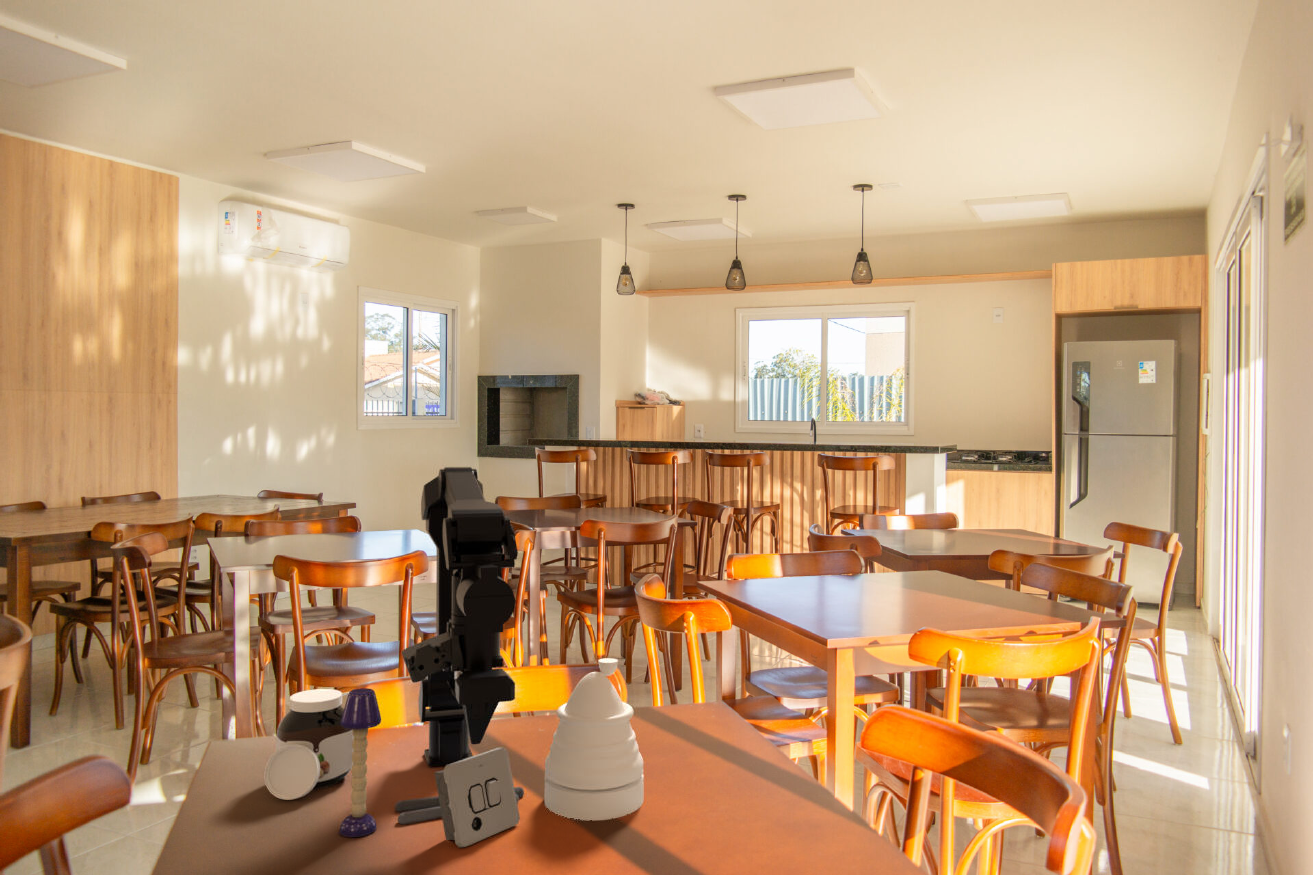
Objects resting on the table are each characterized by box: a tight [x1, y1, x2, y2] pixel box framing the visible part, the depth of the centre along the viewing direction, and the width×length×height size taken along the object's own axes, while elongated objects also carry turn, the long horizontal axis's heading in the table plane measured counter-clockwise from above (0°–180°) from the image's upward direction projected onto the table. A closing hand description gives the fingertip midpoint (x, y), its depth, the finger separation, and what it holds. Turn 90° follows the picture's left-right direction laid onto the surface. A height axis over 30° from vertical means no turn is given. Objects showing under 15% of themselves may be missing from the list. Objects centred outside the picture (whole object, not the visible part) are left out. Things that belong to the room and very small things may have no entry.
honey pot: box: [544, 657, 645, 822], centre depth 122 cm, size 13×13×18 cm
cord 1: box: [394, 786, 525, 813], centre depth 121 cm, size 1×16×1 cm, turn 109°
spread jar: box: [263, 688, 354, 801], centre depth 127 cm, size 12×11×12 cm
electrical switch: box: [434, 747, 521, 848], centre depth 113 cm, size 9×5×9 cm, turn 141°
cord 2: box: [397, 794, 520, 825], centre depth 118 cm, size 1×15×1 cm, turn 117°
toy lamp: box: [339, 687, 382, 838], centre depth 113 cm, size 5×5×17 cm
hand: (475, 743), depth 112 cm, fingers closed
